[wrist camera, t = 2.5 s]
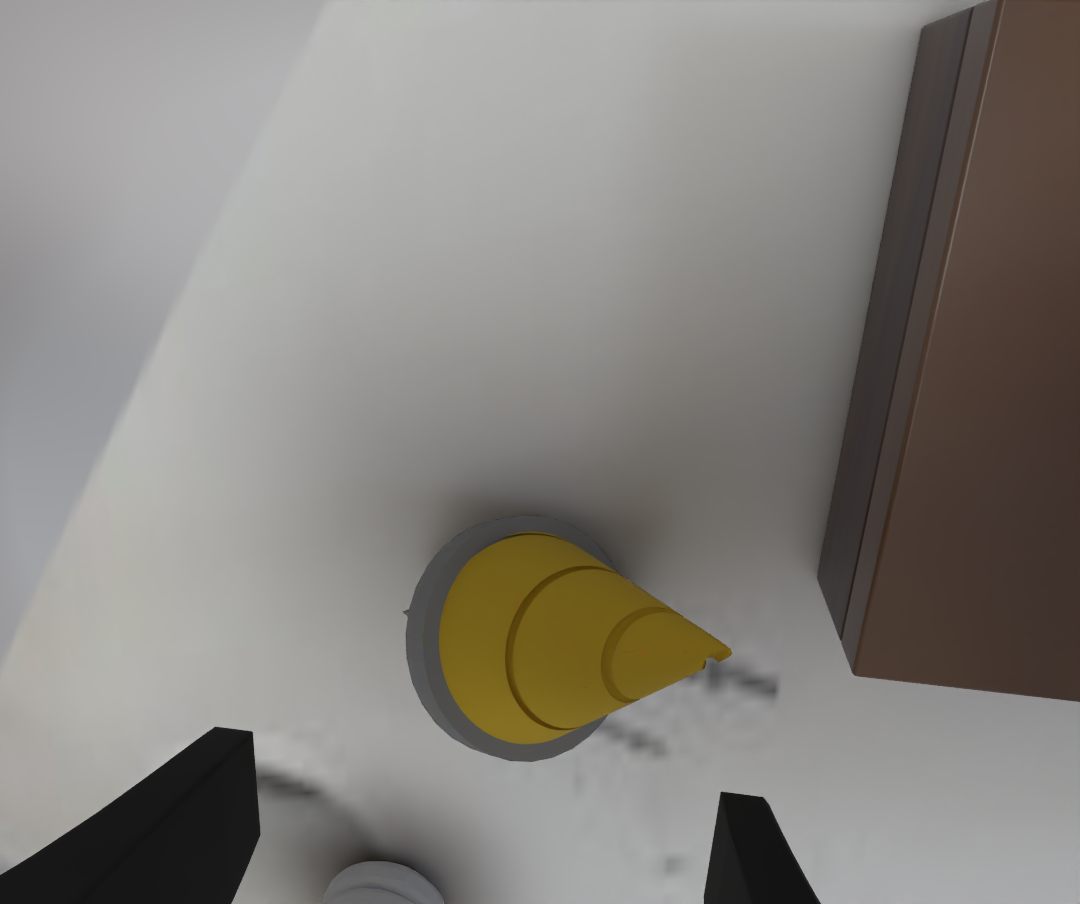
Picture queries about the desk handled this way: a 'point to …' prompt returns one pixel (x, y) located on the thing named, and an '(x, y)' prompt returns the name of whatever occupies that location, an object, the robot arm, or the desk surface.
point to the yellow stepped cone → (539, 639)
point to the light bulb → (380, 885)
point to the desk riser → (971, 374)
